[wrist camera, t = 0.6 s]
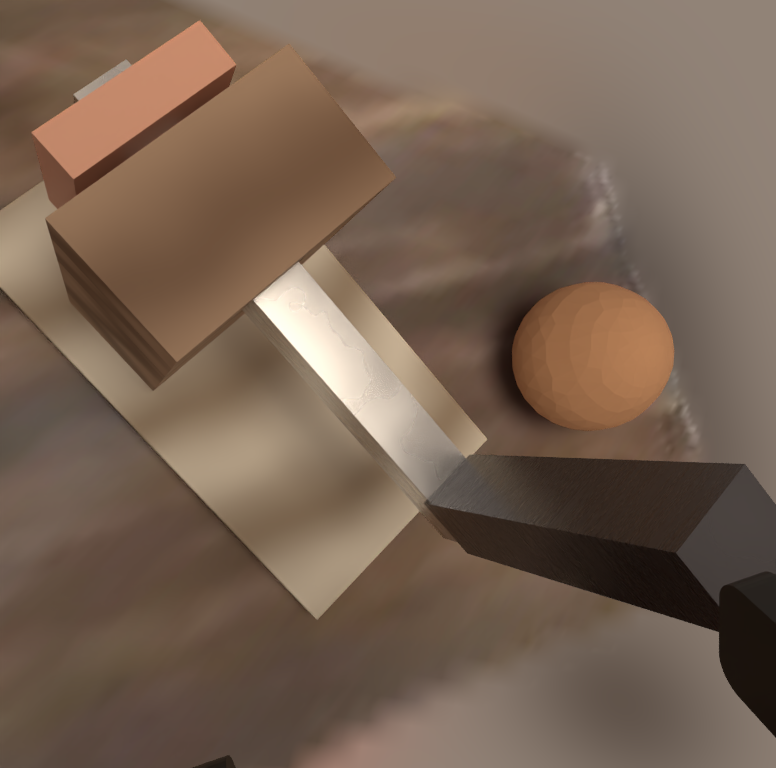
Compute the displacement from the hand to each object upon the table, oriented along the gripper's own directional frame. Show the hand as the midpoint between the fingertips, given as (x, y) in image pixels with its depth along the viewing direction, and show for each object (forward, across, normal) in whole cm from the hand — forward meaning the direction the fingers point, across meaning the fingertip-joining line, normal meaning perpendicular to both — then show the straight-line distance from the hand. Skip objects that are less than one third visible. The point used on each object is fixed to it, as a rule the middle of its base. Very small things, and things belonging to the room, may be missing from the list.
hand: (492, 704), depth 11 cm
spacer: (+21, +5, -7) cm, 23 cm away
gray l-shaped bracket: (+17, +1, -1) cm, 17 cm away
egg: (+27, -13, +8) cm, 31 cm away
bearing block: (+25, +3, +2) cm, 26 cm away
